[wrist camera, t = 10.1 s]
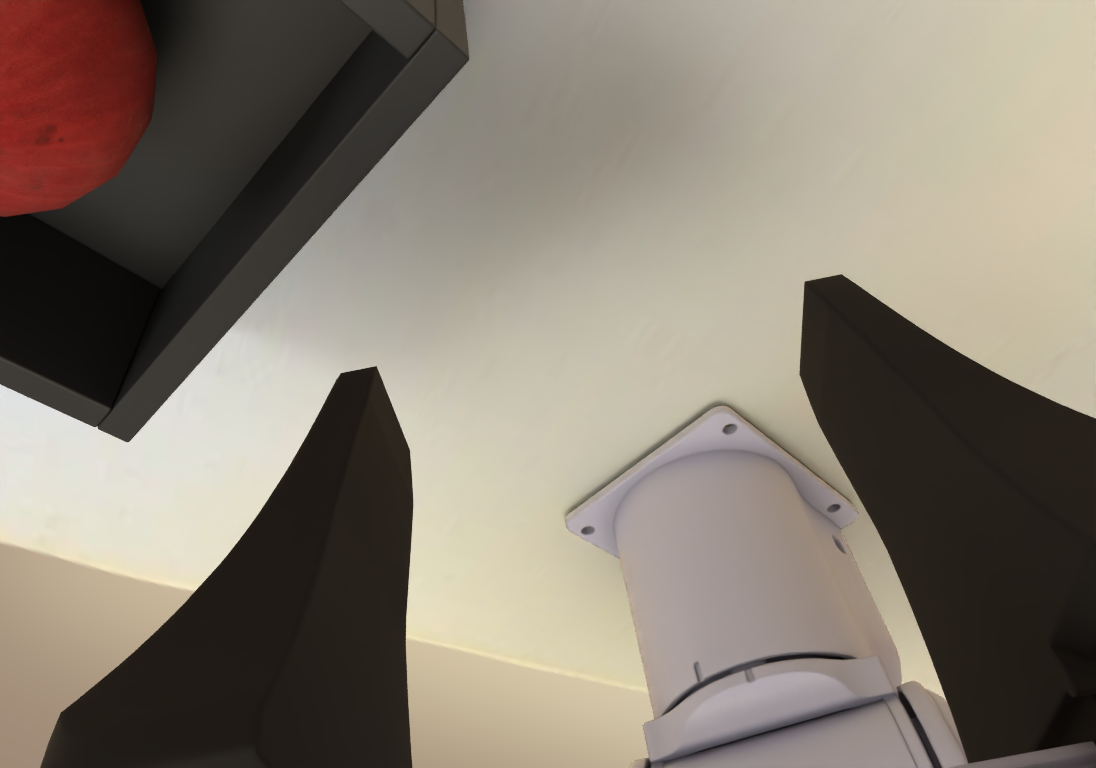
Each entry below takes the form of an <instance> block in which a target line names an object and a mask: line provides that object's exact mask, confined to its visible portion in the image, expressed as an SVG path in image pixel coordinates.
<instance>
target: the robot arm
mask: <svg viewBox="0 0 1096 768" xmlns="http://www.w3.org/2000/svg"><path fill="white" fill-rule="evenodd" d="M800 377H801V380H802V382H803V385H804V388H805V390H806V393H807V396H808V398H809V401H810V404H811V406H812V409H813V411H814V414H815V416H816V419H817V421H818V424H819V426H820V428H821V429H822V431H823V433H824V435H825V437H826V439H827V441H828V442H829V444H830V446H831V448H832V450H833V452H834V453H835V455H836V457H837V459H838V461H839V462H840V464H841V466H842V468H843V470H844V471H845V473H846V475H847V477H848V479H849V480H850V482H851V484H852V486H853V487H854V489H855V491H856V493H857V495H858V496H859V498H860V500H861V502H862V504H863V505H864V507H865V509H866V511H867V512H868V514H869V516H870V518H871V520H872V521H873V523H874V525H875V527H876V529H877V531H878V533H879V535H880V537H881V539H882V541H883V543H884V545H885V547H886V549H887V551H888V553H889V555H890V558H891V560H892V562H893V565H894V567H895V570H896V572H897V574H898V577H899V579H900V581H901V584H902V586H903V589H904V591H905V593H906V596H907V598H908V601H909V603H910V606H911V608H912V611H913V613H914V616H915V618H916V621H917V623H918V626H919V628H920V631H921V633H922V636H923V638H924V641H925V644H926V646H927V649H928V651H929V654H930V656H931V659H932V662H933V665H934V667H935V670H936V673H937V676H938V678H939V681H940V684H941V686H942V689H943V692H944V695H945V697H946V700H947V702H946V700H945V699H944V698H942V697H941V696H939V695H937V694H935V693H933V692H932V691H930V690H927V689H925V688H924V687H923V686H922V685H921V684H920V683H918V682H916V681H910V682H907V683H905V684H902V685H901V682H902V676H901V664H900V659H899V655H898V652H897V649H896V646H895V644H894V642H893V640H892V637H891V635H890V633H889V631H888V629H887V627H886V625H885V623H884V621H883V619H882V616H881V614H880V612H879V610H878V608H877V606H876V604H875V602H874V600H873V597H872V595H871V593H870V591H869V589H868V587H867V585H866V583H865V581H864V579H863V576H862V574H861V572H860V570H859V568H858V566H857V564H856V562H855V560H854V557H853V555H852V553H851V551H850V549H849V547H848V545H847V543H846V541H845V539H844V536H843V534H842V532H841V529H843V528H844V527H846V526H848V525H849V524H851V523H853V522H854V521H855V520H856V519H857V517H858V511H857V509H856V507H855V506H854V505H853V504H852V503H851V502H849V501H848V500H847V499H845V498H844V497H843V496H842V495H840V494H839V493H838V492H837V491H835V490H834V489H833V488H831V487H830V486H829V485H828V484H826V483H825V482H824V481H823V480H821V479H820V478H819V477H817V476H816V475H815V474H814V473H812V472H811V471H810V470H808V469H807V468H806V467H805V466H803V465H802V464H801V463H800V462H798V461H797V460H796V459H794V458H793V457H792V456H791V455H789V454H788V453H787V452H786V451H784V450H783V449H782V448H780V447H779V446H778V445H777V444H775V443H774V442H773V441H771V440H770V439H769V438H768V437H766V436H765V435H764V434H763V433H761V432H760V431H759V430H757V429H756V428H755V427H754V426H752V425H751V424H750V423H748V422H747V421H746V420H745V419H743V418H742V417H741V416H740V415H738V414H737V413H736V412H734V411H733V410H732V409H731V408H729V407H727V406H717V407H714V408H712V409H711V410H709V411H708V412H707V413H705V414H704V415H702V416H701V417H700V418H698V419H697V420H696V421H694V422H693V423H692V424H690V425H689V426H687V427H686V428H685V429H683V430H682V431H681V432H679V433H678V434H677V435H675V436H674V437H672V438H671V439H670V440H668V441H667V442H666V443H664V444H663V445H662V446H660V447H659V448H658V449H656V450H655V451H653V452H652V453H651V454H649V455H648V456H647V457H645V458H644V459H643V460H641V461H640V462H638V463H637V464H636V465H634V466H633V467H632V468H630V469H629V470H628V471H626V472H625V473H623V474H622V475H621V476H619V477H618V478H617V479H615V480H614V481H613V482H611V483H610V484H609V485H607V486H606V487H604V488H603V489H602V490H600V491H599V492H598V493H596V494H595V495H594V496H592V497H591V498H589V499H588V500H587V501H585V502H584V503H583V504H581V505H580V506H579V507H577V508H576V509H575V510H573V511H572V512H570V513H569V514H568V515H567V516H566V519H565V522H566V527H567V529H568V530H569V531H570V532H572V533H574V534H575V535H577V536H579V537H581V538H583V539H584V540H586V541H588V542H590V543H592V544H593V545H595V546H597V547H599V548H601V549H602V550H604V551H606V552H608V553H609V554H611V555H613V556H615V557H617V558H618V559H620V561H621V566H622V571H623V575H624V580H625V585H626V589H627V594H628V598H629V603H630V608H631V612H632V617H633V622H634V626H635V631H636V635H637V640H638V645H639V649H640V654H641V659H642V663H643V668H644V672H645V677H646V682H647V686H648V691H649V696H650V700H651V705H652V709H653V714H654V720H651V721H648V722H646V723H644V724H643V730H644V735H645V740H646V745H647V750H648V754H649V758H645V759H640V760H636V761H634V762H633V763H632V764H630V766H629V768H1096V418H1093V417H1090V416H1088V415H1085V414H1083V413H1080V412H1077V411H1075V410H1073V409H1070V408H1068V407H1066V406H1063V405H1061V404H1059V403H1056V402H1054V401H1052V400H1050V399H1048V398H1046V397H1043V396H1041V395H1039V394H1037V393H1035V392H1033V391H1031V390H1029V389H1026V388H1024V387H1022V386H1020V385H1018V384H1016V383H1014V382H1012V381H1010V380H1008V379H1006V378H1004V377H1002V376H1000V375H998V374H996V373H995V372H993V371H991V370H989V369H987V368H986V367H984V366H982V365H980V364H979V363H977V362H975V361H973V360H971V359H970V358H968V357H966V356H964V355H963V354H961V353H959V352H958V351H956V350H954V349H953V348H951V347H949V346H948V345H946V344H944V343H943V342H941V341H940V340H938V339H936V338H935V337H933V336H932V335H930V334H928V333H927V332H925V331H924V330H922V329H921V328H919V327H918V326H916V325H915V324H913V323H912V322H910V321H909V320H907V319H906V318H904V317H903V316H901V315H900V314H898V313H897V312H895V311H894V310H892V309H891V308H890V307H888V306H887V305H885V304H884V303H882V302H881V301H879V300H878V299H877V298H875V297H874V296H872V295H871V294H869V293H868V292H867V291H865V290H864V289H862V288H861V287H859V286H858V285H857V284H855V283H854V282H852V281H851V280H849V279H848V278H846V277H845V276H843V275H842V274H841V275H836V276H831V277H826V278H821V279H816V280H811V281H806V282H805V284H804V302H803V320H802V339H801V357H800ZM728 424H732V425H730V426H728V427H725V426H726V425H728ZM412 519H413V488H412V473H411V459H410V449H409V447H408V444H407V442H406V439H405V437H404V434H403V432H402V429H401V427H400V424H399V422H398V419H397V417H396V414H395V412H394V409H393V407H392V404H391V401H390V399H389V396H388V394H387V391H386V389H385V386H384V384H383V381H382V379H381V376H380V374H379V371H378V369H377V366H375V367H370V368H365V369H360V370H355V371H350V372H345V373H341V374H340V376H339V377H338V378H337V380H336V382H335V384H334V386H333V388H332V389H331V391H330V393H329V395H328V397H327V399H326V401H325V403H324V405H323V407H322V409H321V411H320V412H319V414H318V416H317V418H316V420H315V422H314V424H313V425H312V427H311V429H310V431H309V433H308V435H307V437H306V438H305V440H304V442H303V443H302V445H301V447H300V449H299V450H298V452H297V454H296V456H295V457H294V459H293V461H292V462H291V464H290V466H289V468H288V469H287V471H286V473H285V474H284V476H283V477H282V479H281V480H280V482H279V484H278V485H277V487H276V488H275V490H274V491H273V493H272V494H271V496H270V497H269V499H268V500H267V502H266V503H265V505H264V507H263V508H262V510H261V511H260V512H259V514H258V515H257V517H256V518H255V520H254V521H253V522H252V524H251V525H250V527H249V528H248V529H247V531H246V532H245V533H244V535H243V536H242V537H241V539H240V540H239V541H238V542H237V544H236V545H235V546H234V548H233V549H232V550H231V551H230V553H229V554H228V555H227V556H226V558H225V559H224V560H223V561H222V562H221V564H220V565H219V566H218V567H217V568H216V569H215V570H214V571H213V572H212V574H211V575H210V576H209V577H208V578H207V579H206V580H205V581H204V582H203V583H202V585H201V586H200V587H199V588H198V589H197V590H196V591H195V592H194V593H193V594H192V596H191V597H190V598H189V599H188V600H187V601H186V602H185V604H183V606H181V607H180V608H179V609H178V611H177V612H176V613H175V614H174V615H172V616H171V617H170V619H168V621H166V623H164V624H163V625H162V626H161V627H160V628H159V629H158V630H157V631H156V632H155V633H154V634H153V635H152V636H151V637H150V638H149V639H148V640H146V641H145V642H144V643H143V644H142V645H141V646H140V647H139V648H138V649H137V650H136V651H135V652H134V653H132V654H131V655H130V656H129V657H128V658H127V659H126V660H125V661H123V662H122V663H121V664H120V665H119V666H118V667H116V668H115V669H114V670H113V671H112V672H110V673H109V674H108V675H107V676H105V677H104V678H103V679H102V680H101V681H100V682H98V683H97V684H96V685H95V686H94V687H92V688H91V689H90V690H89V691H87V692H86V693H85V694H84V695H83V696H81V697H80V698H79V699H78V700H77V701H75V702H74V703H73V704H71V705H70V706H69V707H68V708H66V709H65V710H64V711H63V712H61V714H60V716H59V719H58V721H57V723H56V726H55V728H54V731H53V733H52V736H51V738H50V741H49V743H48V746H47V749H46V752H45V756H44V758H43V761H42V764H41V768H412V759H411V743H410V727H409V709H408V689H407V665H406V612H407V597H408V581H409V567H410V552H411V536H412ZM587 526H589V527H587Z"/></svg>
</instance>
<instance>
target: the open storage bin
mask: <svg viewBox="0 0 1096 768" xmlns="http://www.w3.org/2000/svg"><path fill="white" fill-rule="evenodd" d="M140 2H141V5H142V8H143V11H144V14H145V17H146V20H147V23H148V26H149V29H150V32H151V35H152V38H153V41H154V44H155V47H156V50H157V53H158V55H157V70H156V84H155V99H154V106H153V112H152V118H151V122H150V124H149V125H148V127H147V129H146V130H145V132H144V134H143V135H142V137H141V139H140V140H139V142H138V144H137V145H136V147H135V149H134V150H133V152H132V154H131V155H130V157H129V159H128V160H127V162H126V163H125V165H124V166H123V167H122V169H121V170H120V172H119V173H118V175H117V176H115V177H113V178H112V179H110V180H108V181H107V182H105V183H103V184H102V185H100V186H99V187H97V188H95V189H94V190H92V191H90V192H89V193H87V194H85V195H84V196H82V197H80V198H79V199H77V200H75V201H74V202H72V203H70V204H69V205H67V206H65V207H64V208H61V209H55V210H48V211H41V212H35V213H28V214H21V215H15V216H8V217H2V216H0V384H1V385H3V386H5V387H7V388H10V389H12V390H14V391H16V392H18V393H21V394H23V395H25V396H27V397H29V398H31V399H34V400H36V401H38V402H40V403H42V404H45V405H47V406H49V407H51V408H53V409H56V410H58V411H60V412H62V413H64V414H67V415H69V416H71V417H73V418H75V419H78V420H80V421H82V422H84V423H86V424H88V425H91V426H93V427H97V426H98V429H99V430H101V431H103V432H106V433H108V434H110V435H112V436H114V437H117V438H119V439H121V440H123V441H125V442H129V441H131V439H132V438H133V437H134V436H135V435H136V434H137V433H138V432H139V430H140V429H141V428H142V427H143V426H144V425H145V424H146V423H147V421H148V420H149V419H150V418H151V417H152V416H153V415H154V414H155V412H156V411H157V410H158V409H159V408H160V407H161V406H162V405H163V403H164V402H165V401H166V400H167V399H168V398H169V397H170V396H171V394H172V393H173V392H174V391H175V390H176V389H177V388H178V387H179V385H180V384H181V383H182V382H183V381H184V380H185V379H186V378H187V376H188V375H189V374H190V373H191V372H192V371H193V370H194V369H195V367H196V366H197V365H198V364H199V363H200V362H201V361H202V360H203V359H204V357H205V356H206V355H207V354H208V353H209V352H210V351H211V350H212V348H213V347H214V346H215V345H216V344H217V343H218V342H219V341H220V339H221V338H222V337H223V336H224V335H225V334H226V333H227V332H228V330H229V329H230V328H231V327H232V326H233V325H234V324H235V323H236V321H237V320H238V319H239V318H240V317H241V316H242V315H243V314H244V312H245V311H246V310H247V309H248V308H249V307H250V306H251V305H252V303H253V302H254V301H255V300H256V299H257V298H258V297H259V296H260V294H261V293H262V292H263V291H264V290H265V289H266V288H267V287H268V285H269V284H270V283H271V282H272V281H273V280H274V279H275V278H276V276H277V275H278V274H279V273H280V272H281V271H282V270H283V269H284V267H285V266H286V265H287V264H288V263H289V262H290V261H291V260H292V259H293V257H294V256H295V255H296V254H297V253H298V252H299V251H300V250H301V248H302V247H303V246H304V245H305V244H306V243H307V242H308V241H309V239H310V238H311V237H312V236H313V235H314V234H315V233H316V232H317V230H318V229H319V228H320V227H321V226H322V225H323V224H324V223H325V221H326V220H327V219H328V218H329V217H330V216H331V215H332V214H333V212H334V211H335V210H336V209H337V208H338V207H339V206H340V205H341V203H342V202H343V201H344V200H345V199H346V198H347V197H348V196H349V194H350V193H351V192H352V191H353V190H354V189H355V188H356V187H357V185H358V184H359V183H360V182H361V181H362V180H363V179H364V178H365V176H366V175H367V174H368V173H369V172H370V171H371V170H372V169H373V167H374V166H375V165H376V164H377V163H378V162H379V161H380V160H381V159H382V157H383V156H384V155H385V154H386V153H387V152H388V151H389V150H390V148H391V147H392V146H393V145H394V144H395V143H396V142H397V141H398V139H399V138H400V137H401V136H402V135H403V134H404V133H405V132H406V130H407V129H408V128H409V127H410V126H411V125H412V124H413V123H414V121H415V120H416V119H417V118H418V117H419V116H420V115H421V114H422V112H423V111H424V110H425V109H426V108H427V107H428V106H429V105H430V103H431V102H432V101H433V100H434V99H435V98H436V97H437V96H438V94H439V93H440V92H441V91H442V90H443V89H444V88H445V87H446V85H447V84H448V83H449V82H450V81H451V80H452V79H453V78H454V76H455V75H456V74H457V73H458V72H459V71H460V70H461V69H462V67H463V66H464V65H465V64H466V63H467V62H468V61H469V49H468V40H467V32H466V23H465V14H464V5H463V0H140Z"/></svg>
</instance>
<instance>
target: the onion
mask: <svg viewBox="0 0 1096 768" xmlns="http://www.w3.org/2000/svg"><path fill="white" fill-rule="evenodd" d="M157 55H158V53H157V50H156V47H155V44H154V41H153V38H152V35H151V32H150V29H149V26H148V23H147V20H146V17H145V14H144V11H143V8H142V5H141V2H140V0H0V216H2V217H8V216H15V215H21V214H28V213H35V212H41V211H48V210H55V209H61V208H64V207H65V206H67V205H69V204H70V203H72V202H74V201H75V200H77V199H79V198H80V197H82V196H84V195H85V194H87V193H89V192H90V191H92V190H94V189H95V188H97V187H99V186H100V185H102V184H103V183H105V182H107V181H108V180H110V179H112V178H113V177H115V176H117V175H118V173H119V172H120V170H121V169H122V167H123V166H124V165H125V163H126V162H127V160H128V159H129V157H130V155H131V154H132V152H133V150H134V149H135V147H136V145H137V144H138V142H139V140H140V139H141V137H142V135H143V134H144V132H145V130H146V129H147V127H148V125H149V124H150V122H151V118H152V112H153V106H154V99H155V84H156V70H157Z"/></svg>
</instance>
